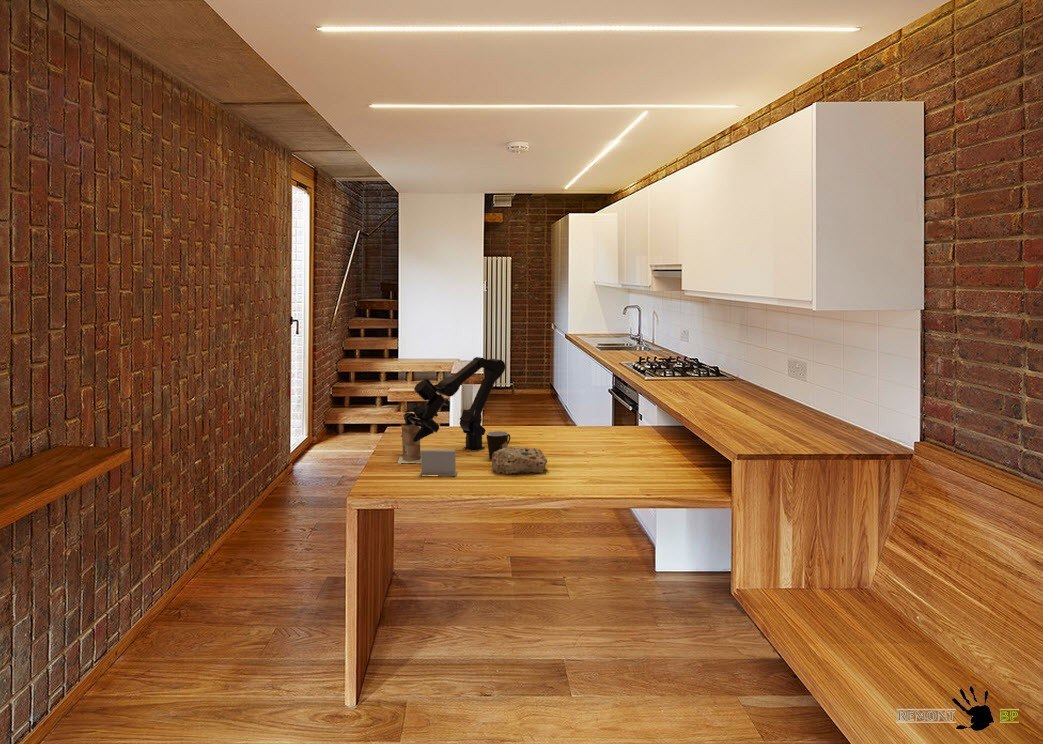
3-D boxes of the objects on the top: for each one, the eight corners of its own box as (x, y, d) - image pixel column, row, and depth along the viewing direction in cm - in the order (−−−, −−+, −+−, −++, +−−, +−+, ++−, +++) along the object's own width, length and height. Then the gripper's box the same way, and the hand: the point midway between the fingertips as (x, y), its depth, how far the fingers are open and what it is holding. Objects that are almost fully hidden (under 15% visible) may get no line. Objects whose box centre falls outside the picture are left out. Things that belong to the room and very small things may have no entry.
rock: (541, 466, 286) (545, 442, 283) (548, 485, 273) (552, 460, 270) (488, 463, 283) (491, 439, 279) (492, 482, 269) (495, 457, 266)
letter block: (414, 457, 296) (413, 424, 294) (420, 459, 292) (419, 426, 290) (402, 459, 292) (401, 426, 290) (408, 461, 288) (407, 428, 287)
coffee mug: (492, 462, 288) (492, 436, 287) (482, 457, 296) (482, 432, 294) (519, 458, 293) (519, 433, 292) (509, 453, 301) (509, 429, 300)
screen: (457, 473, 273) (457, 449, 272) (455, 476, 269) (455, 452, 267) (422, 473, 274) (421, 448, 273) (419, 476, 270) (419, 451, 268)
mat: (424, 463, 288) (424, 462, 288) (398, 464, 287) (398, 463, 287) (425, 456, 298) (425, 455, 297) (399, 457, 296) (399, 456, 296)
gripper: (406, 391, 298) (382, 422, 293) (431, 398, 284) (406, 430, 278) (424, 409, 304) (401, 439, 299) (449, 415, 290) (425, 448, 284)
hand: (408, 439), depth 290 cm, fingers open, 9 cm apart
